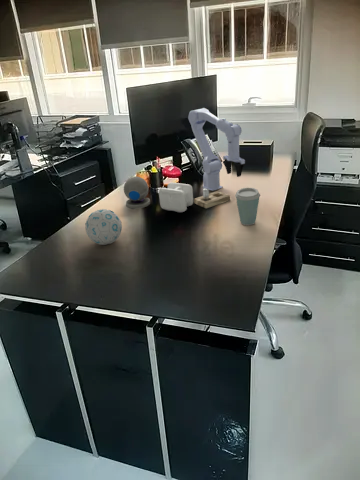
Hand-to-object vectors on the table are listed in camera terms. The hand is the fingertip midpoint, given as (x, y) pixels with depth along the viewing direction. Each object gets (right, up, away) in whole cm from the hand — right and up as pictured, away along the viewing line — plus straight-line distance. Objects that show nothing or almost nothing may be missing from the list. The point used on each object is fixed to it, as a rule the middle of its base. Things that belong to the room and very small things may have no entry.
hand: (233, 174), depth 192 cm
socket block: (-12, -15, -4) cm, 19 cm away
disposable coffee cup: (+2, -27, -29) cm, 40 cm away
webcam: (-51, -15, +2) cm, 53 cm away
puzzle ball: (-60, -36, -36) cm, 79 cm away
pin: (-15, -16, -5) cm, 22 cm away
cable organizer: (-30, -19, -7) cm, 36 cm away
